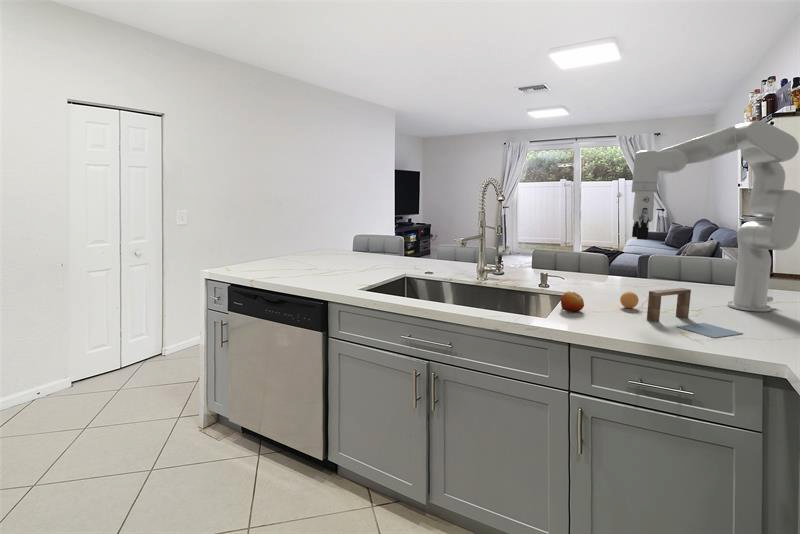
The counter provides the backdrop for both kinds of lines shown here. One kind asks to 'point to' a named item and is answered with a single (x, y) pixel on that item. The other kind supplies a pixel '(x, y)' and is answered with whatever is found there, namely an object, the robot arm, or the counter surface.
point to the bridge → (655, 296)
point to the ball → (629, 299)
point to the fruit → (572, 302)
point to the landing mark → (709, 330)
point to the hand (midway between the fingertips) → (639, 238)
